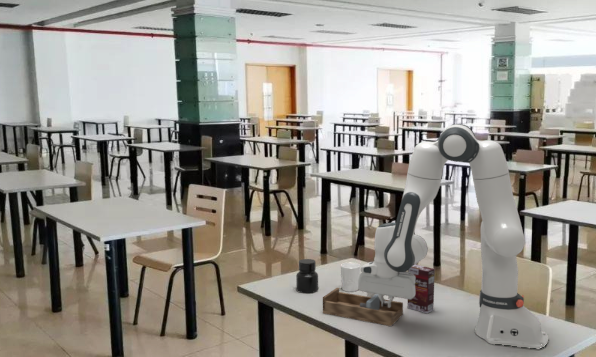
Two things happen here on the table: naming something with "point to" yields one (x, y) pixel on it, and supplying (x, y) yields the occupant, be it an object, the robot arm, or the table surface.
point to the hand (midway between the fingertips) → (386, 306)
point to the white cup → (350, 276)
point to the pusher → (372, 303)
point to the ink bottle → (307, 276)
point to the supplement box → (422, 289)
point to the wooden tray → (360, 308)
